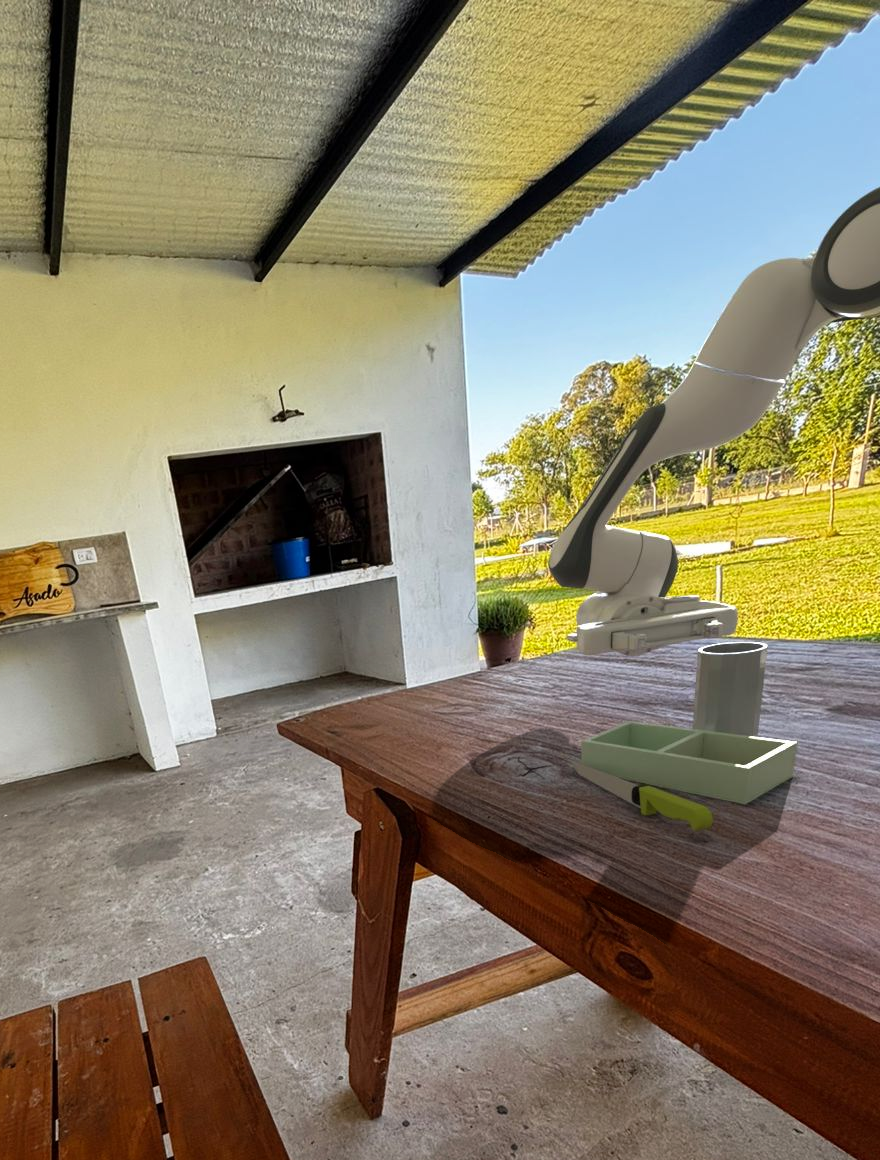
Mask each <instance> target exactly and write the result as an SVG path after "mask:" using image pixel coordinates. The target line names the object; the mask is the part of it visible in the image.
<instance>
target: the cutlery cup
mask: <svg viewBox="0 0 880 1160" xmlns="http://www.w3.org/2000/svg"><path fill="white" fill-rule="evenodd" d="M767 655H768V644H766V643H763V642H755V641H735V642H722V643H714V644H710V645H705V646H703V647H700V648H698V650H697V655H696V656H697V658H696V668H695V669H696V671H695V686H694V698H693V699H694V701H693V716H692V718H693V719H692V729H697V730H705V731H713V732H721V733H729V734H737V735H745V736H753V737H759V731H760V721H761V712H762V703H763V694H764V693H763V692H764V683H765V674H766V664H767Z"/></svg>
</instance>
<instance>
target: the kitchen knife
mask: <svg viewBox="0 0 880 1160" xmlns="http://www.w3.org/2000/svg"><path fill="white" fill-rule="evenodd" d="M570 762H571V764H572V766H573V768H574V770H575V771H576V773H577V774H578V775H579V776H581V777H583V778H584V779H586V780H587V781H590V782H591V783H593V784H595V785H597V786H599V787H600V788H602V789H605V790H606V791H607V792H609V793H611V794H613V795H615V796H617V797H619V798H621V799H622V800H624V801H626V802H628V803H630V804H631V805H633V806H635V807H637V808H639V809H640V814H642V815H643V816H652V815H655V814H657V812H658V813H659V814H661V815H662V816H664V817H666V818H668V819H671V820H682V821H686V822H687V823H689V825H690V827H691V830H692V831H695V832H698V831H703V830H707V829H710V828H711V827H712V825H713V822H714V818H713V814H712V812H711V810H710V809H709V808H708V807H707V806H705V805H702V804H699V803H698V802H694V801H691V800H688V799H686V798H683V797H680V796H678V795H675V794H673V793H670V792H667V791H664V790H662V789H659V788H657V787H653V786H652V785H651V786H650V785H648V784H641V785H640V784H639V785H638V784H636V783H634V782H631V781H629V780H626V779H621V778H617V777H615V776H612V775H609V774H607V773H604V772H601V771H599V770H596V769H593V768H591V767H588V766H585V765H583V764H581V763H580V762H577V761H575V760H570Z"/></svg>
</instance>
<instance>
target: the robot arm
mask: <svg viewBox="0 0 880 1160" xmlns="http://www.w3.org/2000/svg"><path fill="white" fill-rule="evenodd" d="M879 317H880V186H878V187H876V188H875V189H873V190H871V191H869V192H868V193H866V194H864V195H863V196H862V197H859V199H857V200H856V201H855V202H853V203H852V204H851V205H850V206H849V207H848V208H847V209H846V210H844V211H843V212H842V213H841V215H839V216H838V218H837V219H836V220H835V221H834V222H833V223H832V225H831V226H830V228H828V230H827V231H826V233H825V234H824V235H823V238H822V240H821V241H820V244H819V246H818V248H817V250H816V253H815V255H814V256H813V257H809V258H799V257H785V258H780V259H779V258H778V259H775V260H772V261H769V262H766V263H764V264H762V265H760V266H758V267H757V268H755V269H754V270H752V271H751V272H750V273H749V274H748V275H747V276H746V277H745V278H744V280H743V281H742V282H741V283H740V284H739V286H738V288H737V289H736V291H735V292H734V293H733V295H732V296H731V298H730V299H729V300H728V302H727V304H726V305H725V307H724V309H723V310H722V312H721V313H720V315H719V317H718V318H717V320H716V322H715V323H714V325H713V326H712V329H711V330H710V331H709V334H708V336H707V337H706V339H705V340H704V342H703V345H701V348H700V350H699V352H698V354H697V355H696V358H695V359H694V362H693V364H692V365H691V367H690V370H688V373H687V374H686V376H685V377H684V379H683V380H682V382H680V384H679V385H678V386H677V387H676V389H674V391H672V392H671V394H669V396H668V397H666V398H665V399H664V400H663V401H662V402H661V403H658V404H655V405H652V406H650V407H648V408H647V409H646V410H645V411H644V412H643V413H642V414H641V415H640V416H639V418H638V419H637V420H636V421H635V423H634V424H633V425H632V427H631V428H630V429H629V431H628V433H627V434H626V436H625V437H624V439H623V440H622V441H621V443H620V444H619V446H618V447H617V449H616V450H615V452H614V454H613V455H612V457H611V459H610V460H609V461H608V463H607V465H606V466H605V467H604V469H603V471H602V472H601V474H600V475H599V477H598V479H597V480H596V481H595V483H594V485H593V487H592V488H591V490H590V491H589V493H588V494H587V495H586V497H585V499H584V500H583V502H582V504H581V506H580V507H579V508H578V510H577V511H576V513H575V514H574V515H573V517H572V518H571V519H570V520H569V522H568V523H567V524H566V526H565V527H564V529H562V531H561V532H560V534H559V535H558V537H557V539H556V541H555V542H554V544H553V545H552V548H551V551H550V555H549V558H548V563H547V567H548V569H549V572H550V574H551V576H552V578H553V579H554V580H555V582H556V583H557V584H558V586H559V587H561V588H567V589H568V588H569V589H578V590H583V589H585V590H591V591H596V592H594V593H592V594H591V595H590V596H587V597H586V598H585V599H584V600H583V601H581V604H580V605H579V607H578V608H577V611H576V615H575V616H576V617H575V619H576V625H577V627H576V630H575V631H574V632H573V633H568V634H567V636H566V641H568V642H571V643H576V649H577V651H578V652H579V653H581V654H582V655H585V656H595V655H602V654H610V653H618V654H620V655H623V656H627V657H639V656H643V655H645V654H647V653H650V652H651V651H656V650H658V649H661V648H664V647H666V646H671V645H674V644H675V645H676V644H680V643H685V642H691V641H698V640H705V639H708V640H710V639H718V638H722V637H727V636H731V635H733V634H734V633H735V632H736V630H737V627H738V620H739V619H738V618H739V611H738V608H737V607H735V606H733V605H729V604H727V603H722V602H717V601H711V600H701V596H699V595H695V594H694V595H679V596H678V595H677V596H667V595H668V593H669V592H670V590H671V588H672V586H673V584H674V582H675V578H676V575H677V572H678V568H679V558H678V553H677V549H676V546H675V544H674V542H673V540H672V539H671V538H670V537H669V535H668V536H667V535H662V534H658V533H652V532H647V531H642V530H634V529H627V528H622V527H617V526H612V525H608V522H609V521H610V520H611V518H612V517H613V515H614V514H615V512H616V511H617V509H618V508H619V507H620V505H621V503H622V502H623V500H624V499H625V498H626V496H627V495H628V493H629V492H630V490H631V489H632V487H633V486H634V484H635V482H637V480H638V478H639V477H640V476H641V475H642V474H643V473H644V472H645V471H647V470H648V469H649V468H651V466H653V465H656V464H658V463H659V462H661V461H664V460H667V459H670V458H674V457H677V456H681V455H685V454H691V453H696V452H701V451H706V450H711V449H715V448H717V447H720V446H723V445H725V444H728V443H730V442H732V441H734V440H736V439H738V438H739V437H741V436H743V435H744V434H745V433H748V431H750V430H751V429H752V428H753V427H755V426H756V424H757V423H758V422H759V421H760V420H761V418H762V417H763V416H764V415H765V413H766V412H767V410H768V409H769V408H770V406H771V404H772V403H773V402H774V400H775V398H776V396H777V394H778V393H779V391H780V389H781V387H782V386H783V384H784V382H785V380H786V379H787V377H788V375H789V374H790V373H791V371H792V368H793V367H794V365H795V363H796V361H797V360H798V358H799V357H800V355H801V353H802V352H803V350H804V349H805V347H806V346H807V344H808V343H809V342H810V341H811V340H812V338H813V337H814V336H815V335H816V334H817V333H818V332H819V331H820V329H822V328H823V327H825V326H826V325H827V324H833V323H835V324H836V323H841V322H847V321H848V322H849V321H856V320H865V319H873V318H879Z"/></svg>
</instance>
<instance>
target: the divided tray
mask: <svg viewBox="0 0 880 1160" xmlns="http://www.w3.org/2000/svg"><path fill="white" fill-rule="evenodd" d="M580 745H581V752H580V753H581V754H580V755H581V756H580V757H581V758H580V759H581V763H580V764H583V765H585V766H588V767H591V768H593V769H596V770H599V771H601V772H604V773H607V774H609V775H612V776H615V777H617V778H620V779H623V780H625V781H630V782H631V781H632V782H637V783H641V784H644V785H649V786H650V785H651V786H656V787H660V788H665V789H669V790H674V791H679V792H684V793H689V794H693V795H698V796H703V797H708V798H712V799H718V800H723V801H728V802H732V803H737V804H742V805H747V804H749V803H750V802H752V801H754V800H755V799H757V798H759V797H761V796H762V795H764V794H766V793H767V792H769V791H770V790H772V789H774V788H776V787H777V786H779V785H781V784H783V783H784V782H786V781H787V780H789V779H791V778H793V777H794V774H795V766H796V757H797V750H798V741H794V740H793V741H791V740H785V739H776V738H767V737H761V736H758V737H753V736H745V735H737V734H729V733H721V732H713V731H705V730H697V729H693V728H688V727H681V726H674V725H673V726H671V725H666V724H665V725H664V724H655V723H648V722H641V721H633V720H628V721H625V722H622V723H621V724H619V725H616V726H614V727H611V728H609V729H607V730H605V731H602V732H600V733H598V734H595V735H593V736H590V737H588V738H585V739H583V740H581V743H580Z"/></svg>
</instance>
